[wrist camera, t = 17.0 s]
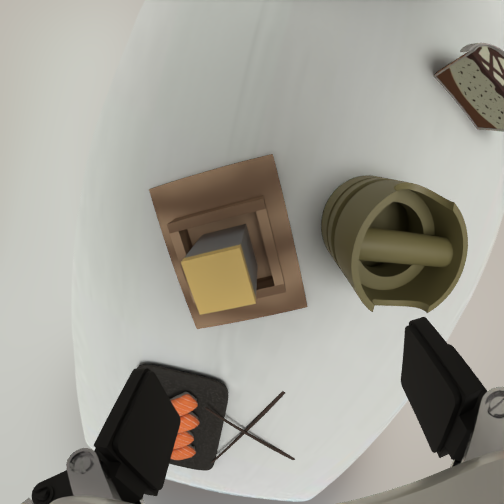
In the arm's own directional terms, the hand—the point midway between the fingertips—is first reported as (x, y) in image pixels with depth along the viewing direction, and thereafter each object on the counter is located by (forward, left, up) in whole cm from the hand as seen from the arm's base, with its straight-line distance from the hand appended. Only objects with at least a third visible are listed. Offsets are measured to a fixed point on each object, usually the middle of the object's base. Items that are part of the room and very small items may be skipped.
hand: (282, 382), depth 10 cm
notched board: (+1, -5, -24) cm, 24 cm away
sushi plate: (+33, -16, -25) cm, 44 cm away
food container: (-13, +30, -24) cm, 41 cm away
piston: (+2, +11, -24) cm, 27 cm away
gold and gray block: (+1, -5, -23) cm, 24 cm away
